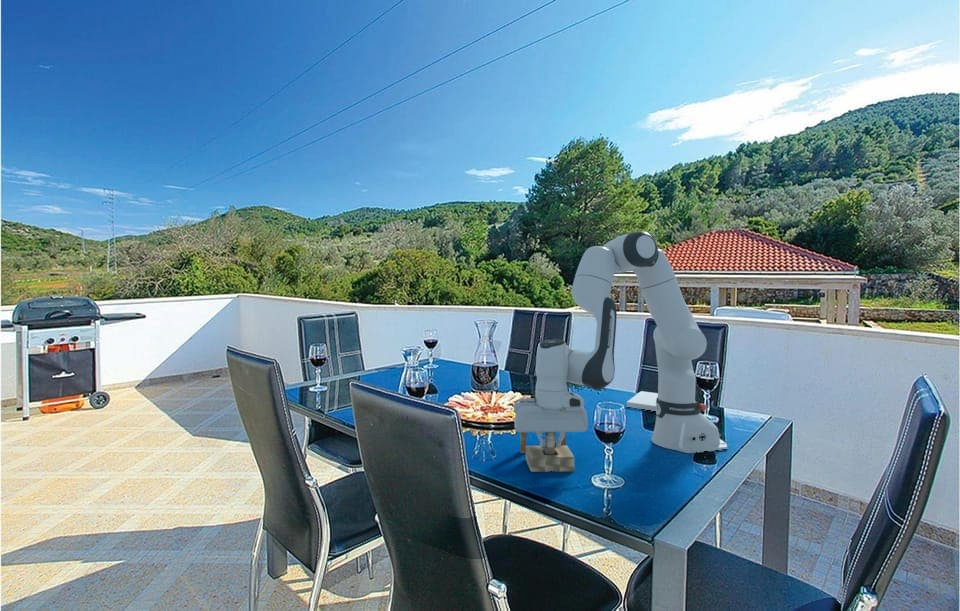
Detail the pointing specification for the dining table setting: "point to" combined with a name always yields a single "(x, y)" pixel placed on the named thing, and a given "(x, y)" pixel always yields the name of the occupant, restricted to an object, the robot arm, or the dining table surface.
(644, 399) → the food packaging
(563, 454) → the socket block
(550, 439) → the peg
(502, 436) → the dining table surface
